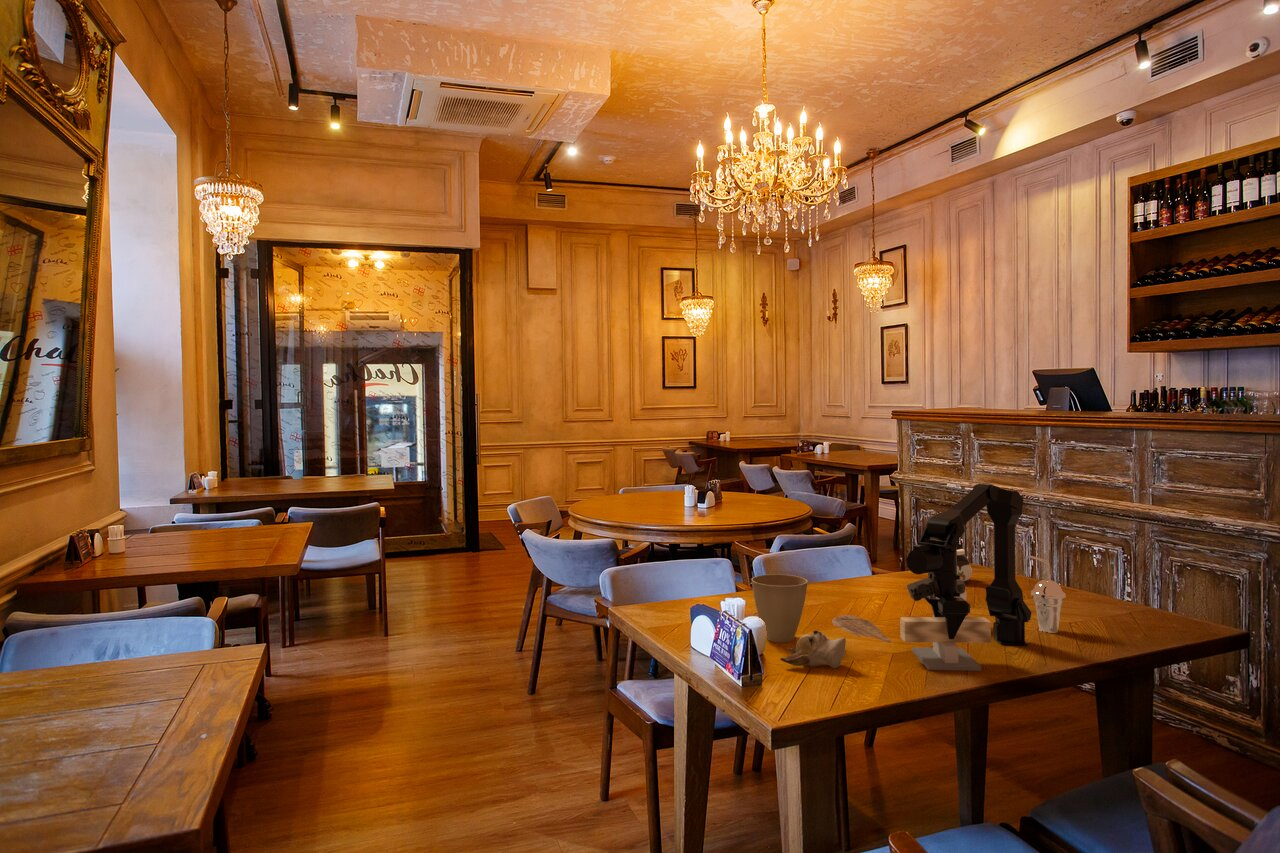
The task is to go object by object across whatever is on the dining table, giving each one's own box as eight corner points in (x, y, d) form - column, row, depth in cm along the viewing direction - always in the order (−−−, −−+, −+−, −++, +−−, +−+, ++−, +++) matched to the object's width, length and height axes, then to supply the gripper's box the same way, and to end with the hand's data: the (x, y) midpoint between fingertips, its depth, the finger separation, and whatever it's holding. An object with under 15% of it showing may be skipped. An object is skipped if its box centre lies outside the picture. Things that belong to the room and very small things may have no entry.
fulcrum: (961, 651, 189) (961, 632, 189) (981, 670, 175) (981, 649, 175) (912, 651, 190) (912, 631, 190) (928, 670, 176) (927, 648, 176)
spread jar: (942, 584, 264) (941, 551, 264) (935, 577, 275) (934, 545, 275) (978, 585, 262) (978, 551, 262) (969, 578, 273) (969, 546, 273)
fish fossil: (905, 642, 199) (905, 638, 199) (871, 649, 196) (871, 645, 196) (852, 616, 224) (851, 612, 224) (821, 622, 221) (821, 618, 221)
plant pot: (778, 650, 193) (777, 588, 193) (741, 636, 206) (740, 578, 205) (820, 640, 201) (819, 580, 201) (782, 627, 213) (781, 571, 213)
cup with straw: (1045, 636, 201) (1044, 561, 201) (1022, 626, 210) (1021, 555, 210) (1073, 634, 202) (1072, 559, 202) (1050, 625, 211) (1049, 553, 211)
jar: (973, 626, 212) (972, 583, 211) (950, 629, 209) (949, 586, 209) (950, 618, 220) (949, 577, 220) (927, 621, 217) (926, 579, 217)
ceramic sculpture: (842, 637, 174) (777, 635, 179) (845, 675, 173) (780, 672, 179) (847, 625, 184) (786, 624, 189) (850, 661, 183) (788, 659, 189)
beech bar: (984, 637, 184) (984, 617, 184) (990, 642, 180) (990, 621, 180) (900, 637, 185) (900, 617, 185) (904, 642, 181) (904, 621, 181)
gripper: (900, 561, 192) (901, 622, 193) (920, 577, 174) (921, 644, 174) (945, 561, 191) (946, 623, 192) (970, 577, 173) (971, 645, 173)
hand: (945, 633), depth 183 cm, fingers open, 9 cm apart
